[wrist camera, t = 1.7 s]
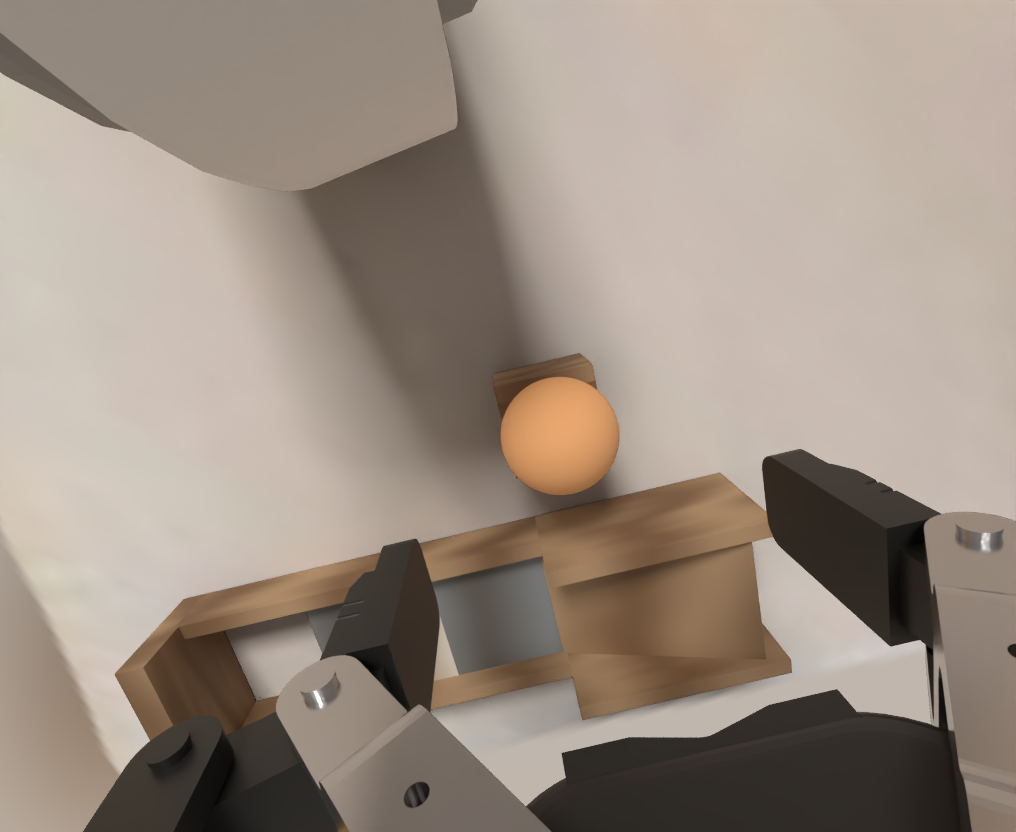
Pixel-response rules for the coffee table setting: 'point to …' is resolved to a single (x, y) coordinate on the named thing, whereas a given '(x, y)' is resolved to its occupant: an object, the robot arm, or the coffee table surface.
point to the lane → (518, 611)
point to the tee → (540, 377)
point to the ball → (559, 435)
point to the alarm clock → (245, 77)
